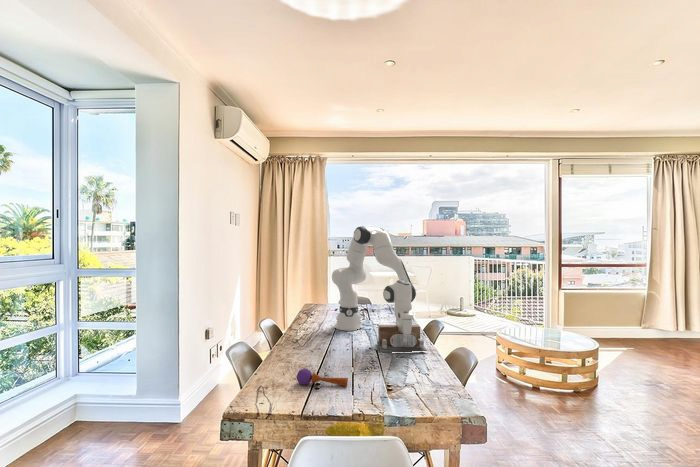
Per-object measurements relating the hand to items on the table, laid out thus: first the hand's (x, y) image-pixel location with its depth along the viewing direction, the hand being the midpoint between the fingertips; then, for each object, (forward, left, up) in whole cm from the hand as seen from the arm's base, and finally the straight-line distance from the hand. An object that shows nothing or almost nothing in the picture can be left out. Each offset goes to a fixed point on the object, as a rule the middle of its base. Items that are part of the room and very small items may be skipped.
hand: (402, 339), depth 179 cm
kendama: (+41, -41, -6) cm, 58 cm away
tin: (+1, 0, -5) cm, 5 cm away
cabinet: (-4, 0, -6) cm, 7 cm away
